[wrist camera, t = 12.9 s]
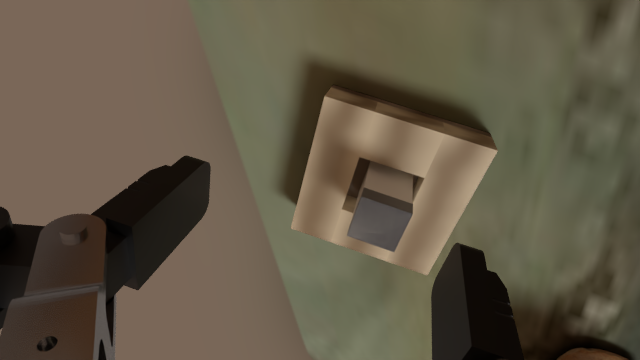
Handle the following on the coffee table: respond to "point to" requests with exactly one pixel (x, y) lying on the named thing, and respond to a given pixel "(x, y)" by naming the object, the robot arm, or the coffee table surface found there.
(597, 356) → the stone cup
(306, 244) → the coffee table surface
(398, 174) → the connector plug
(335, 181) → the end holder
